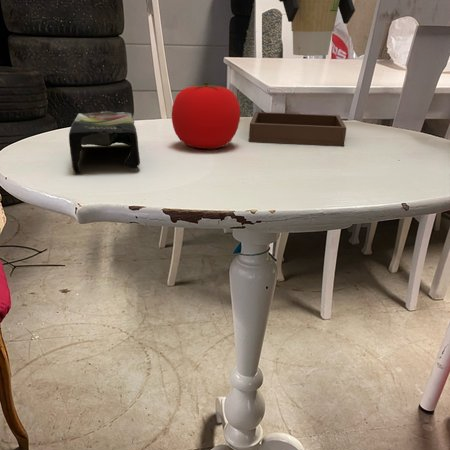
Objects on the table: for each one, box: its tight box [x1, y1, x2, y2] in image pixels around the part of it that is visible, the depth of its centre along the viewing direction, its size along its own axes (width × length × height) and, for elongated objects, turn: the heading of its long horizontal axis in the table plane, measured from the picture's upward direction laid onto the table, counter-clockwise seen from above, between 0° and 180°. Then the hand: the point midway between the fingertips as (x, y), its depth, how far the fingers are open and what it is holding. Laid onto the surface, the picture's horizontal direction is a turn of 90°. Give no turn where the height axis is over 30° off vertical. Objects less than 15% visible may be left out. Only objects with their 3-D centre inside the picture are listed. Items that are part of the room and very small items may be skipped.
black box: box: [68, 110, 141, 174], centre depth 73 cm, size 20×10×6 cm, turn 12°
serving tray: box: [248, 111, 347, 147], centre depth 92 cm, size 18×15×3 cm
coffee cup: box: [290, 0, 340, 57], centre depth 80 cm, size 10×10×15 cm
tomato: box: [171, 81, 242, 150], centre depth 81 cm, size 12×12×10 cm
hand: (322, 16), depth 78 cm, fingers closed on coffee cup, 10 cm apart
